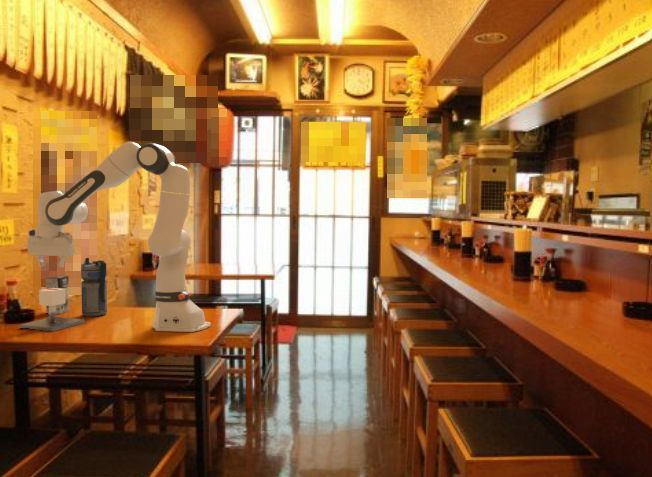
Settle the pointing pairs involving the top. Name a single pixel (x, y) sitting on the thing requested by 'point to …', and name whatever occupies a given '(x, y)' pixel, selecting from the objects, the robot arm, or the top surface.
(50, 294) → the white cube
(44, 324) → the post stand
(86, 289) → the beverage bottle
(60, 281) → the coffee box
